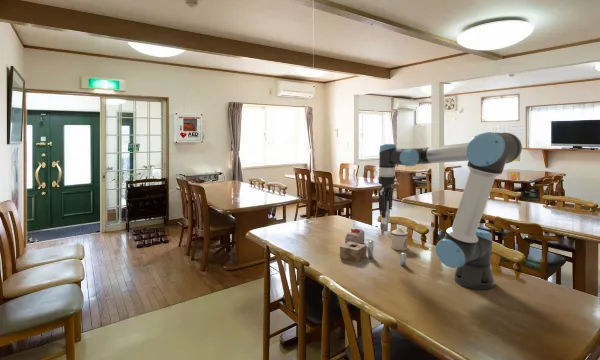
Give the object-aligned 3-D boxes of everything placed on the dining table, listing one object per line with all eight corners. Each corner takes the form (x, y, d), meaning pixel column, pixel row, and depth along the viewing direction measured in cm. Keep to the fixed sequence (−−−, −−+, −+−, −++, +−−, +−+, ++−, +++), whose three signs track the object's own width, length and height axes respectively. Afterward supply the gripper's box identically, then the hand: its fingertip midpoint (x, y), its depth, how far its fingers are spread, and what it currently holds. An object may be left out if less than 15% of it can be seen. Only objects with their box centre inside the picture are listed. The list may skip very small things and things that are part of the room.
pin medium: (374, 257, 173) (374, 240, 172) (371, 259, 171) (372, 242, 170) (369, 256, 175) (369, 239, 174) (367, 258, 173) (367, 241, 172)
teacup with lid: (407, 251, 182) (408, 230, 181) (390, 249, 186) (390, 229, 184) (408, 244, 194) (409, 225, 192) (392, 243, 197) (392, 223, 195)
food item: (357, 250, 185) (357, 232, 184) (343, 247, 189) (344, 230, 188) (365, 243, 197) (365, 227, 196) (352, 241, 201) (352, 225, 200)
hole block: (366, 256, 176) (366, 245, 175) (357, 261, 168) (357, 250, 167) (349, 252, 182) (349, 241, 181) (339, 257, 174) (340, 246, 173)
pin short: (406, 265, 163) (407, 253, 163) (404, 266, 161) (405, 254, 161) (401, 263, 165) (401, 252, 164) (399, 265, 163) (399, 253, 162)
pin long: (388, 230, 167) (389, 200, 165) (386, 231, 165) (387, 201, 163) (383, 229, 169) (384, 200, 167) (381, 230, 166) (382, 201, 164)
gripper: (385, 173, 172) (384, 218, 175) (372, 177, 159) (371, 225, 162) (400, 174, 167) (398, 220, 170) (387, 178, 155) (386, 227, 158)
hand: (385, 222), depth 166 cm, fingers closed on pin long, 2 cm apart
